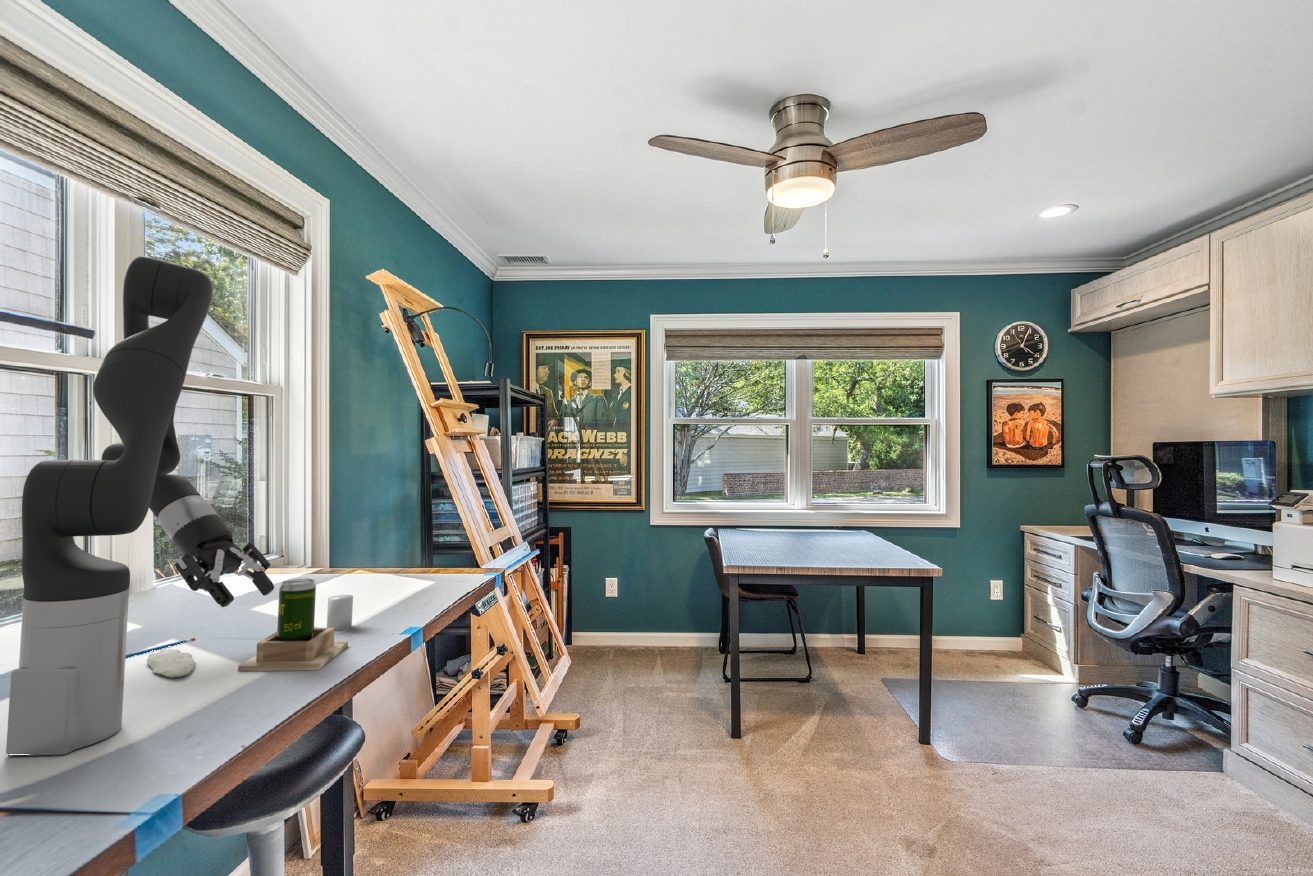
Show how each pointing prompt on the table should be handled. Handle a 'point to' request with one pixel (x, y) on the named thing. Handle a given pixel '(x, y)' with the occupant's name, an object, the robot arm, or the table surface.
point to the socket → (294, 653)
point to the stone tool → (171, 663)
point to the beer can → (296, 610)
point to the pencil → (158, 648)
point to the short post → (340, 612)
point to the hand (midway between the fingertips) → (250, 597)
